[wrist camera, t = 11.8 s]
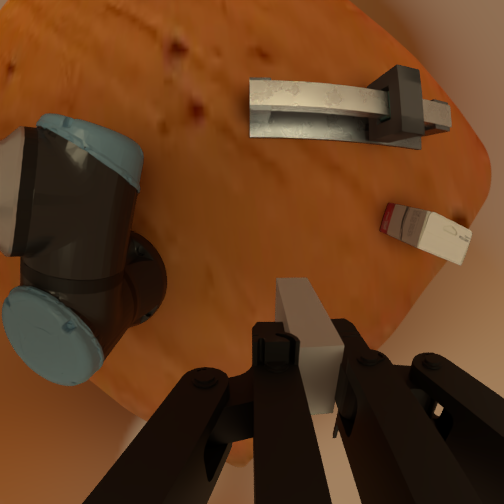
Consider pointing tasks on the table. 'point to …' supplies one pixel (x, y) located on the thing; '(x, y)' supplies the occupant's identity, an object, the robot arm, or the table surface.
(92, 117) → the table surface
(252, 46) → the table surface
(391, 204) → the ink box
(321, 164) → the table surface
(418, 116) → the ring collar
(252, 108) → the pipe rail
